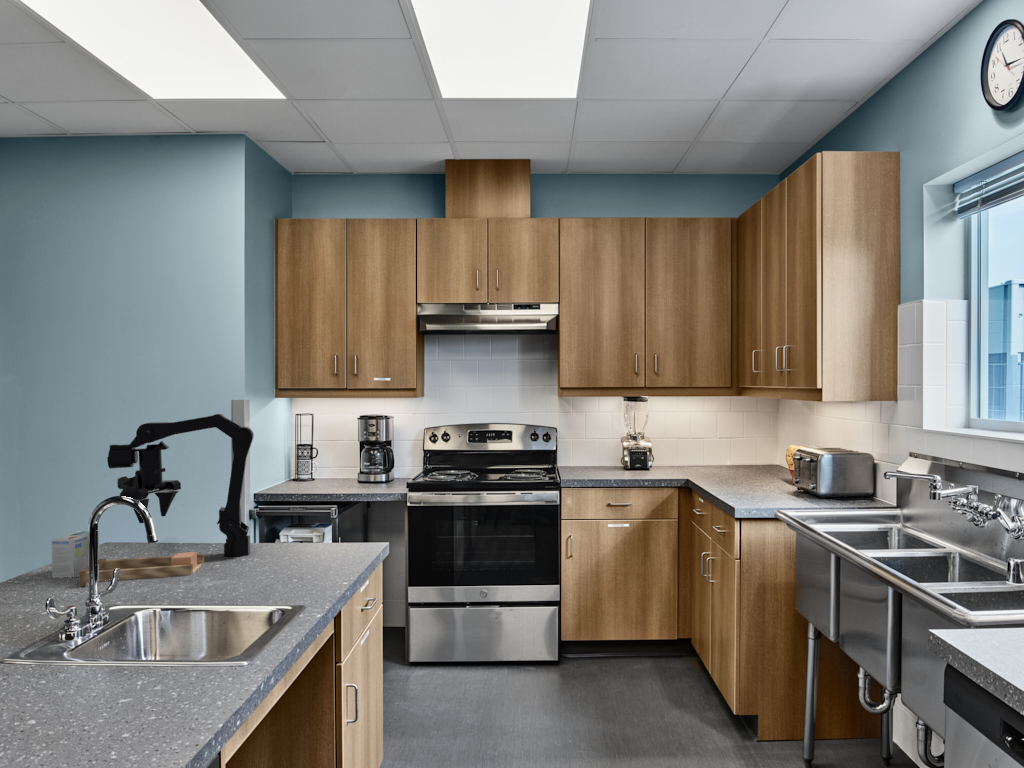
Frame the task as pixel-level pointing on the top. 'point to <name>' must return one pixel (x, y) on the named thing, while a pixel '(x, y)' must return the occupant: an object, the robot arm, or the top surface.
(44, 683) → the top surface
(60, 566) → the light bulb box
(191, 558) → the terracotta block
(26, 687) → the top surface
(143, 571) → the frame
